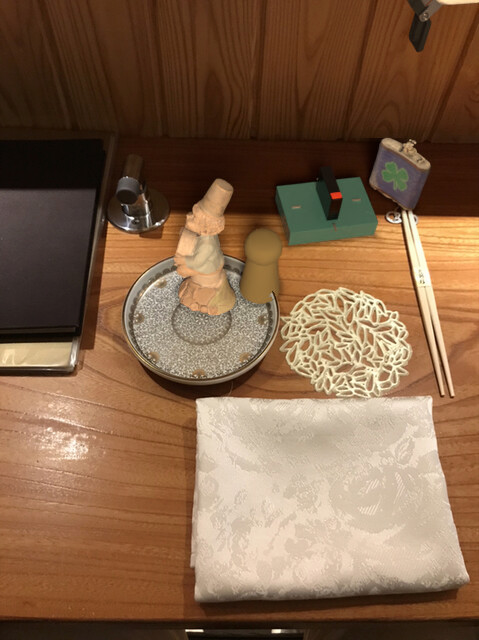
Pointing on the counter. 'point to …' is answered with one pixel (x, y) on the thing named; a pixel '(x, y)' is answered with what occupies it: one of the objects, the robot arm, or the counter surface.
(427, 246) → the counter surface
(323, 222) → the base
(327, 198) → the clamp handle
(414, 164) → the flask
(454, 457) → the counter surface
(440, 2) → the robot arm
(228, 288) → the figurine
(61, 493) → the counter surface
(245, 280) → the cork
